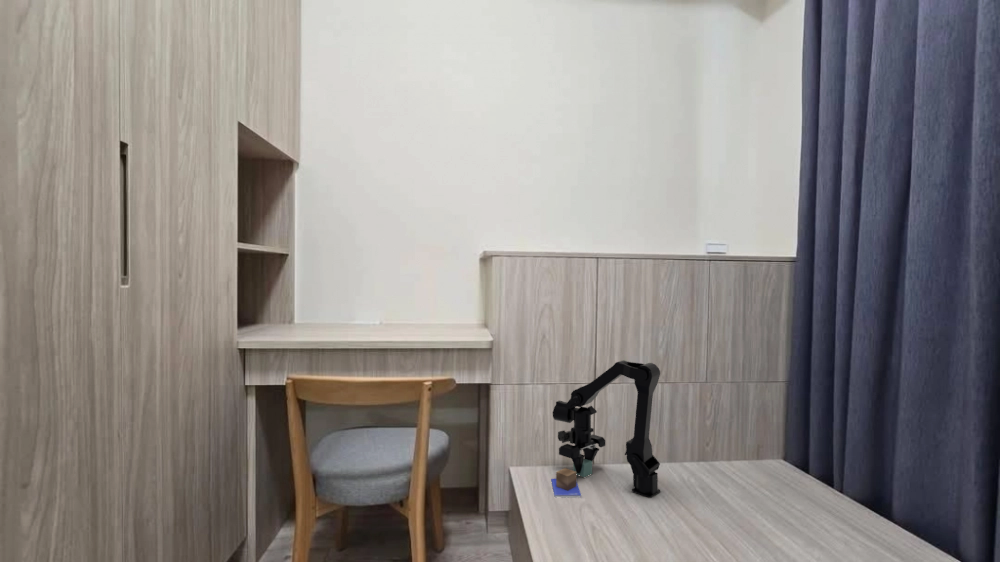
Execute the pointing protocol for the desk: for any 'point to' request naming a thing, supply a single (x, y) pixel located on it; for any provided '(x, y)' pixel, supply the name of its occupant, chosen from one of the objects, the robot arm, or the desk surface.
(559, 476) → the walnut cube
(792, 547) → the desk surface
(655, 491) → the robot arm
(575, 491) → the hard drive
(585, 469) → the teal cube
